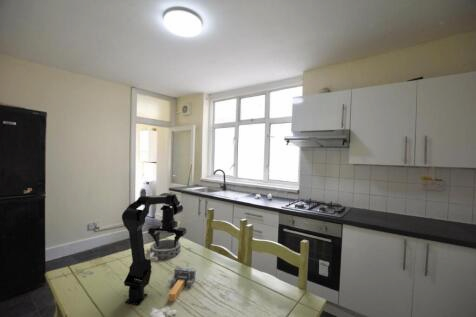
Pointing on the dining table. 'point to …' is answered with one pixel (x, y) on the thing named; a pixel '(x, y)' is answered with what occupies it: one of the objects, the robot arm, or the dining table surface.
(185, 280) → the plug
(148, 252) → the pipe connector
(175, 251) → the grey round bowl
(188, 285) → the frame
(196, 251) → the dining table surface
